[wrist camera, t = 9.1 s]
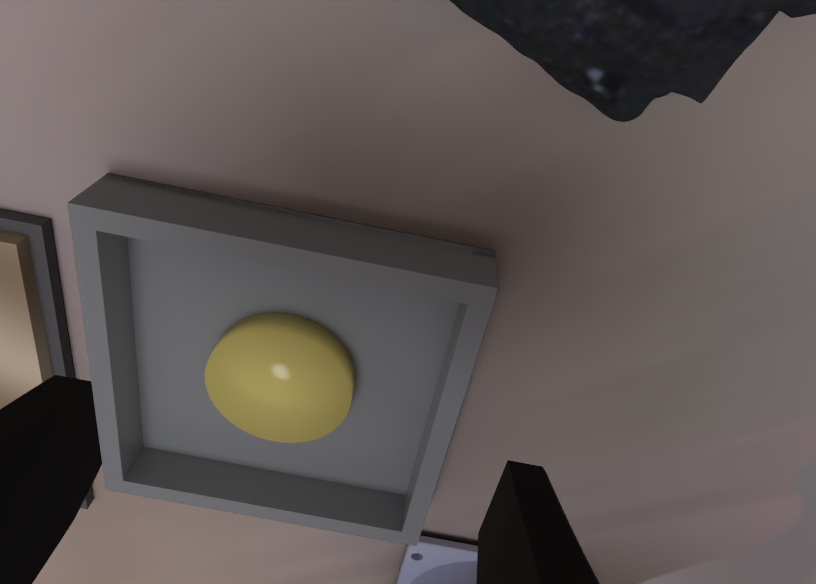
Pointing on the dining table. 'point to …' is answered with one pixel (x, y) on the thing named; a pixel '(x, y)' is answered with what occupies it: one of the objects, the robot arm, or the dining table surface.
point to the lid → (20, 322)
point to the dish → (274, 355)
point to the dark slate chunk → (632, 43)
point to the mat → (46, 291)
